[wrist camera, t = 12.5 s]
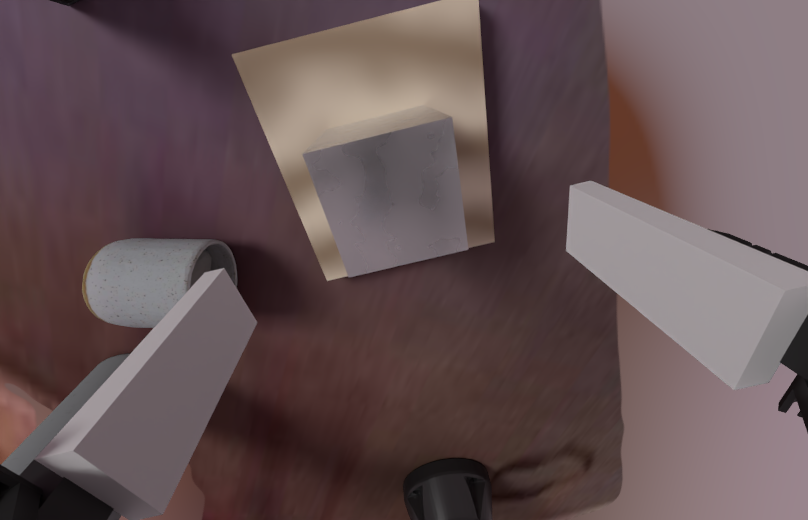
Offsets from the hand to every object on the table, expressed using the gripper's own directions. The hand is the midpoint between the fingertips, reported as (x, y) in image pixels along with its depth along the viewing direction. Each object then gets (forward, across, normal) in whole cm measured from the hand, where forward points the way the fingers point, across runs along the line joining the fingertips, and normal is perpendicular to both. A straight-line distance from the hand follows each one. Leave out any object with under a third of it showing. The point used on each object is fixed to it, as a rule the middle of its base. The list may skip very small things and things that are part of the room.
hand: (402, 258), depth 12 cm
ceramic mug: (+17, +20, +6) cm, 27 cm away
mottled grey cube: (+14, 0, 0) cm, 14 cm away
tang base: (+16, 0, 0) cm, 16 cm away
